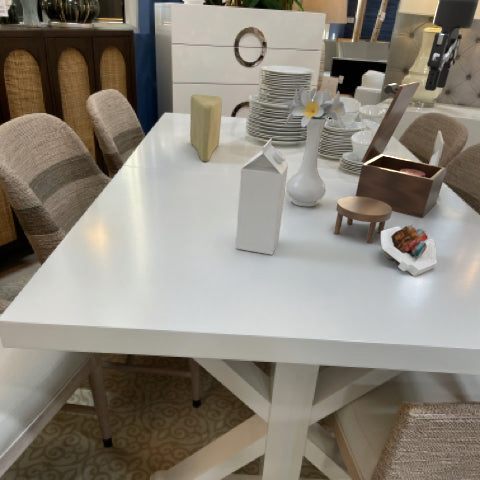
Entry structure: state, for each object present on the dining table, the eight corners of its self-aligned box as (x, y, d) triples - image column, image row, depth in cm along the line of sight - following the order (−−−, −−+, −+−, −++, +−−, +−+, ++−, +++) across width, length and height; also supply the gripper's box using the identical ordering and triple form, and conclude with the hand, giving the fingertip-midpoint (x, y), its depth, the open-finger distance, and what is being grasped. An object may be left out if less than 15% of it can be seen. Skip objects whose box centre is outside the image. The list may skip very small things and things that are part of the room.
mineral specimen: (389, 231, 96) (408, 203, 91) (437, 266, 92) (459, 238, 87) (360, 252, 88) (378, 223, 83) (411, 291, 85) (432, 262, 80)
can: (420, 200, 118) (428, 172, 114) (413, 206, 114) (421, 177, 110) (396, 194, 120) (403, 167, 117) (389, 200, 116) (396, 172, 112)
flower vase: (321, 190, 122) (339, 83, 108) (335, 217, 106) (358, 96, 93) (271, 187, 121) (283, 79, 107) (278, 213, 106) (293, 91, 92)
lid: (420, 82, 110) (402, 73, 111) (403, 87, 100) (383, 77, 101) (382, 153, 122) (366, 144, 123) (363, 163, 112) (346, 153, 113)
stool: (391, 232, 101) (399, 205, 98) (374, 248, 93) (381, 219, 90) (344, 218, 106) (349, 192, 103) (324, 233, 98) (329, 205, 95)
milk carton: (235, 249, 88) (242, 144, 78) (243, 235, 94) (251, 135, 84) (272, 255, 87) (284, 150, 77) (278, 241, 93) (291, 140, 83)
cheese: (221, 163, 137) (224, 107, 129) (188, 161, 136) (188, 105, 128) (219, 144, 155) (222, 94, 147) (190, 143, 154) (190, 92, 146)
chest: (436, 203, 120) (447, 168, 115) (422, 218, 110) (433, 180, 105) (373, 188, 127) (380, 154, 122) (354, 200, 117) (362, 164, 112)
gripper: (471, -2, 88) (444, 94, 97) (484, 2, 98) (459, 88, 107) (430, -4, 91) (408, 89, 100) (447, 0, 101) (425, 84, 110)
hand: (434, 88), depth 103 cm, fingers open, 8 cm apart
